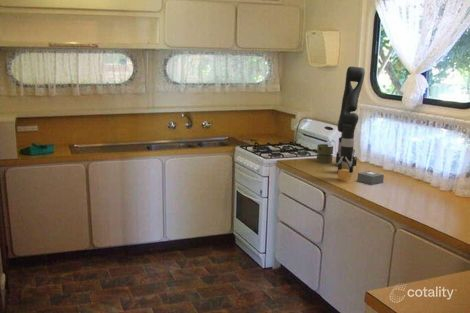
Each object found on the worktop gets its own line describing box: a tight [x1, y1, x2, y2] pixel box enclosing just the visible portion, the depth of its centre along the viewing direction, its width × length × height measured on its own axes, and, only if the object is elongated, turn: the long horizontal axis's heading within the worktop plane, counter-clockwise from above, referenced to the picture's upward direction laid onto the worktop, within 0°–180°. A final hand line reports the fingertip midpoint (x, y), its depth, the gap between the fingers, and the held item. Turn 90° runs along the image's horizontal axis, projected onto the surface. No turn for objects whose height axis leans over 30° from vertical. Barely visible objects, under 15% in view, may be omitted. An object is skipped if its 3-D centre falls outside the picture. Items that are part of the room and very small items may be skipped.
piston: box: [316, 143, 334, 164], centre depth 353 cm, size 11×12×11 cm
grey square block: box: [356, 170, 385, 186], centre depth 298 cm, size 11×11×6 cm
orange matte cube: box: [337, 169, 352, 182], centre depth 301 cm, size 6×6×6 cm
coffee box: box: [339, 148, 355, 176], centre depth 317 cm, size 9×6×16 cm
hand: (345, 171), depth 300 cm, fingers open, 8 cm apart
